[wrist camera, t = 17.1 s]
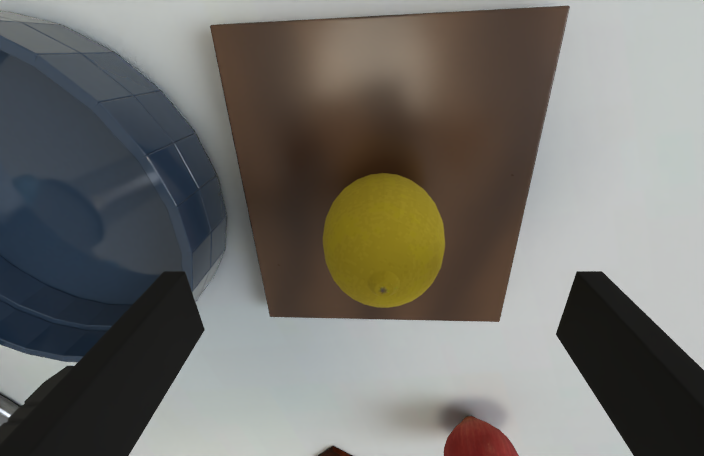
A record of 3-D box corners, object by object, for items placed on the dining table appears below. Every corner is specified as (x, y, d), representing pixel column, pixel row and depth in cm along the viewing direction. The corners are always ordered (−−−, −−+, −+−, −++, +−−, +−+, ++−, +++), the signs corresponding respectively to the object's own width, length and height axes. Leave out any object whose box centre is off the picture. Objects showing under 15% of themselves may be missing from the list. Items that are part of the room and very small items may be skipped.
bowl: (16, 308, 28) (-52, 358, 23) (-174, 23, 18) (-351, 16, 14) (253, 313, 26) (228, 367, 22) (180, 2, 16) (108, -14, 12)
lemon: (338, 148, 18) (311, 213, 11) (441, 160, 18) (482, 234, 11) (330, 237, 20) (305, 336, 13) (420, 248, 20) (442, 353, 13)
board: (275, 303, 25) (269, 317, 24) (222, 26, 17) (209, 24, 16) (493, 307, 24) (499, 322, 23) (554, 9, 16) (571, 5, 14)
